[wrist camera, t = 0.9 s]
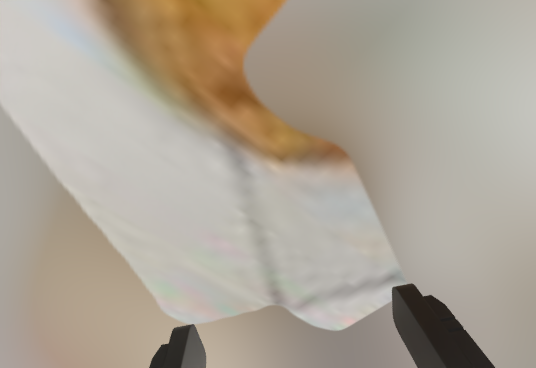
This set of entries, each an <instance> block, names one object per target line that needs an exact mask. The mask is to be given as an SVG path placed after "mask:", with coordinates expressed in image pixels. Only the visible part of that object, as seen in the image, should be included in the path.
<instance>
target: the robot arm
mask: <svg viewBox="0 0 536 368" xmlns="http://www.w3.org/2000/svg"><path fill="white" fill-rule="evenodd" d="M392 305H393V306H392V307H393V319H394V322H395V325H396V328H397V330H398V332H399V334H400V336H401V338H402V340H403V342H404V343H405V345H406V347H407V349H408V351H409V352H410V354H411V356H412V358H413V360H414V362H415V364H416V365H417V367H418V368H495V367H494V365H493V364H492V363H491V362H490V360H489V359H488V358H487V357H486V355H485V354H484V353H483V352H482V350H481V349H480V348H479V347H478V346H477V344H476V343H475V342H474V340H473V339H472V338H471V337H470V335H469V334H468V333H467V332H466V330H464V329H463V327H462V325H461V324H460V323H459V322H458V321H457V320H456V319H455V316H454V315H453V314H452V313H451V311H450V310H449V309H448V308H447V306H446V305H445V304H443V303H442V302H440V301H439V300H438V299H436V298H434V297H433V296H432V295H429V296H424V297H423V296H422V294H421V293H420V292H419V290H418V289H417V288H416V286H415V285H414V284H407V285H401V286H396V287H393V288H392ZM149 368H206V353H205V349H204V346H203V344H202V342H201V339H200V337H199V334H198V332H197V330H196V327H195V325H194V324H192V325H186V326H182V327H176V328H174V329H173V331H172V334H171V337H170V341H169V344H165V345H161V347H160V348H159V350H158V351H157V352H156V354H155V355H154V357H153V358H152V361H151V364H150V367H149Z"/></svg>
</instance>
